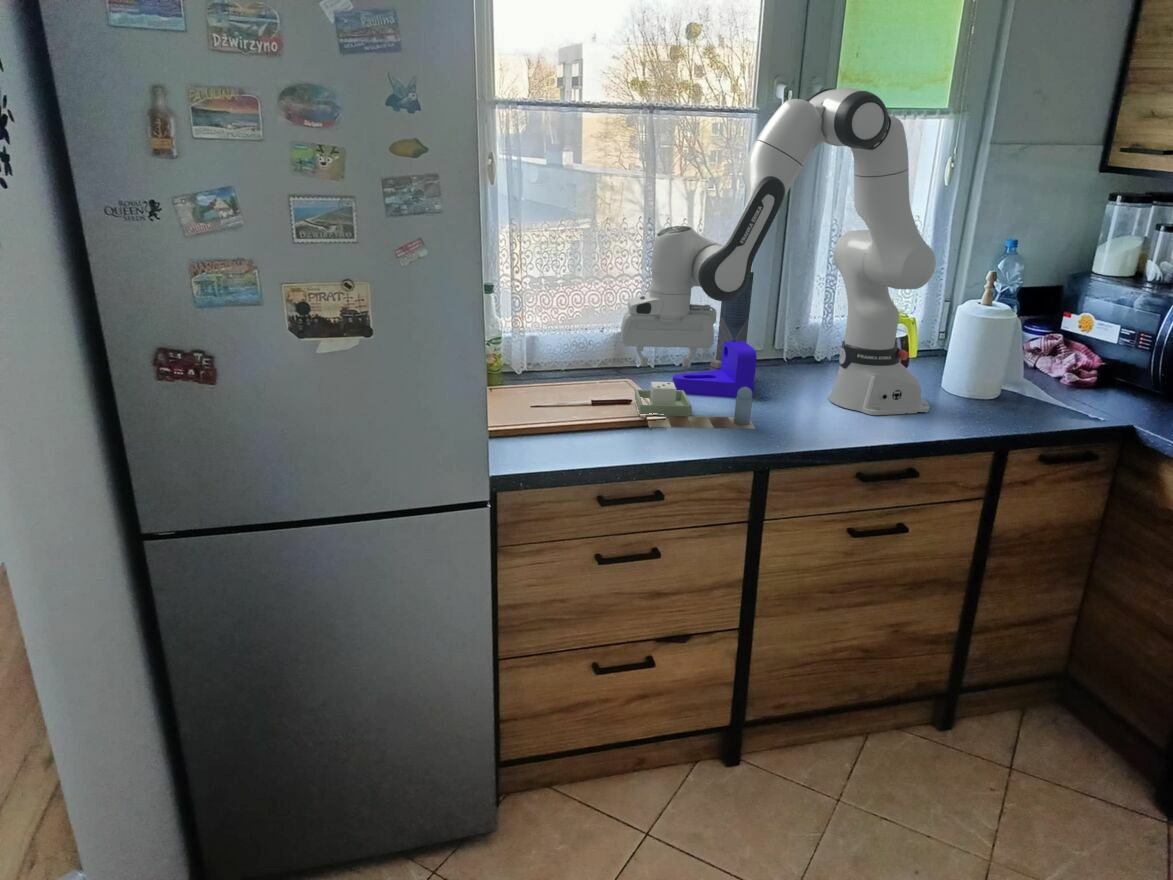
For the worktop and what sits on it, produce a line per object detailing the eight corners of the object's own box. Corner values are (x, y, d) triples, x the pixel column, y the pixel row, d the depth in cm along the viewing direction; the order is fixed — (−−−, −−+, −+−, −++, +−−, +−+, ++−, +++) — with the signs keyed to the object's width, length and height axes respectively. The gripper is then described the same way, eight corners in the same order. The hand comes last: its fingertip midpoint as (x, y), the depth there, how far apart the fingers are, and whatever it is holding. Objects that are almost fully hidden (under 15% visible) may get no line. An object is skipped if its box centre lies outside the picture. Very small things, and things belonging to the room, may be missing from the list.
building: (709, 384, 215) (720, 261, 205) (706, 373, 224) (717, 255, 213) (751, 386, 215) (764, 263, 204) (746, 375, 224) (759, 257, 213)
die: (671, 403, 199) (673, 381, 197) (674, 410, 194) (676, 388, 192) (649, 402, 198) (651, 380, 197) (652, 410, 194) (653, 387, 192)
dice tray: (682, 402, 202) (683, 390, 201) (690, 418, 191) (691, 406, 190) (634, 401, 201) (634, 389, 200) (639, 417, 191) (640, 405, 190)
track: (748, 419, 192) (748, 417, 192) (755, 431, 185) (755, 428, 185) (645, 418, 190) (646, 415, 190) (649, 429, 184) (650, 426, 184)
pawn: (747, 420, 190) (751, 384, 187) (751, 425, 187) (755, 389, 184) (732, 419, 190) (735, 384, 187) (735, 425, 187) (739, 389, 184)
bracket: (736, 385, 216) (741, 339, 211) (752, 400, 206) (757, 351, 201) (665, 387, 212) (669, 339, 208) (677, 401, 202) (681, 352, 198)
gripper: (714, 301, 191) (709, 363, 196) (621, 299, 190) (618, 361, 195) (720, 308, 185) (714, 371, 190) (624, 306, 184) (620, 369, 189)
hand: (664, 366), depth 193 cm, fingers open, 8 cm apart
